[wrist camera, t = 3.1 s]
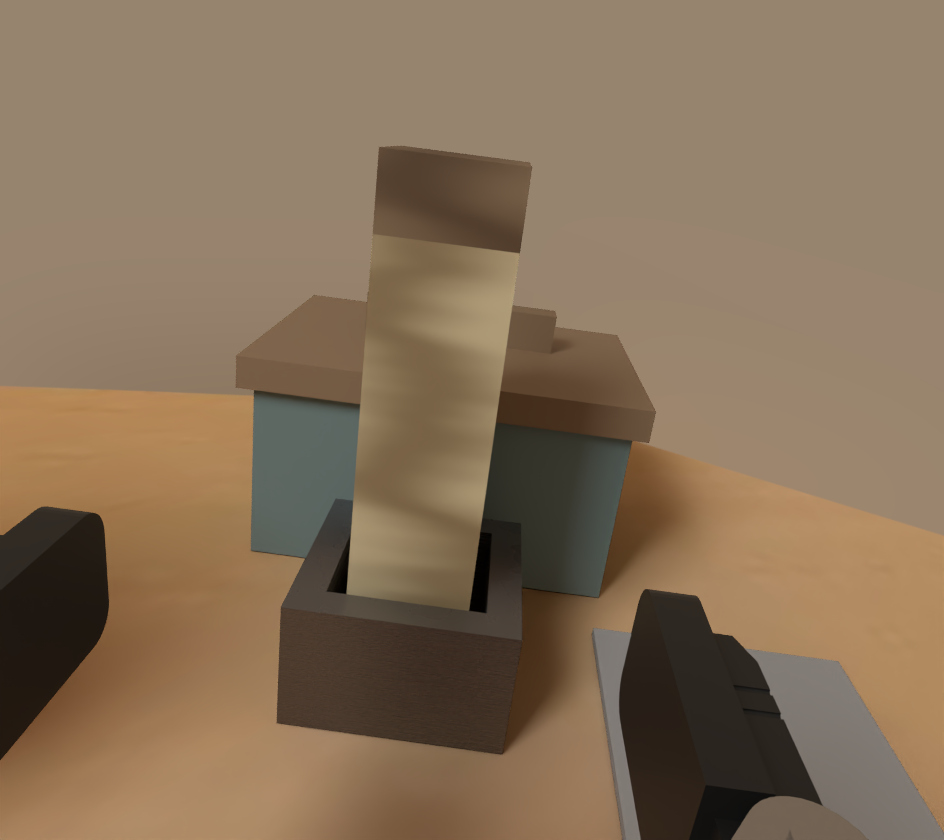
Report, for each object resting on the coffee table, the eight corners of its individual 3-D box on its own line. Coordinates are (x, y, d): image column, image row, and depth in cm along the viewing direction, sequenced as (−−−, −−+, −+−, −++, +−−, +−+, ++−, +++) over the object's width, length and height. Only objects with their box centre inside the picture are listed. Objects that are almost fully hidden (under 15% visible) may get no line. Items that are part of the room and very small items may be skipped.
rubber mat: (835, 668, 28) (838, 661, 27) (976, 901, 19) (980, 892, 19) (591, 634, 28) (593, 627, 28) (624, 852, 19) (626, 843, 19)
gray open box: (505, 618, 28) (521, 523, 27) (502, 754, 22) (522, 640, 20) (329, 593, 28) (335, 498, 27) (276, 722, 22) (280, 606, 20)
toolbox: (587, 485, 40) (623, 303, 36) (612, 606, 29) (665, 368, 26) (306, 447, 40) (315, 262, 36) (234, 555, 30) (236, 311, 26)
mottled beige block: (462, 637, 27) (529, 162, 21) (454, 710, 23) (532, 166, 18) (361, 624, 27) (401, 145, 21) (339, 694, 23) (379, 147, 18)
